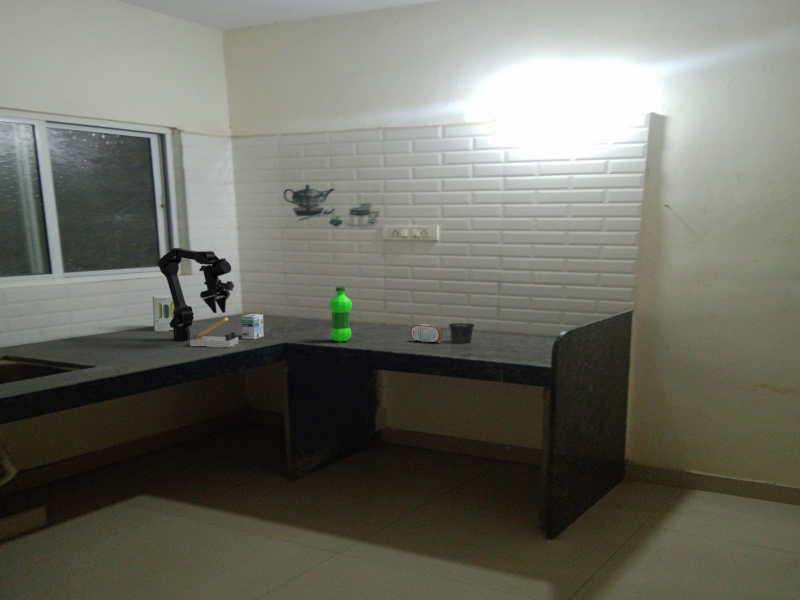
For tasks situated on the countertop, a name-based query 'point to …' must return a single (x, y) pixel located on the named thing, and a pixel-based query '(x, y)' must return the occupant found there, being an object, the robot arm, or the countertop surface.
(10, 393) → the countertop surface
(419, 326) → the tin
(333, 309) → the plastic bottle
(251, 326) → the light bulb box
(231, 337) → the grey fixture base
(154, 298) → the supplement box
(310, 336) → the countertop surface
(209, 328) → the bar
